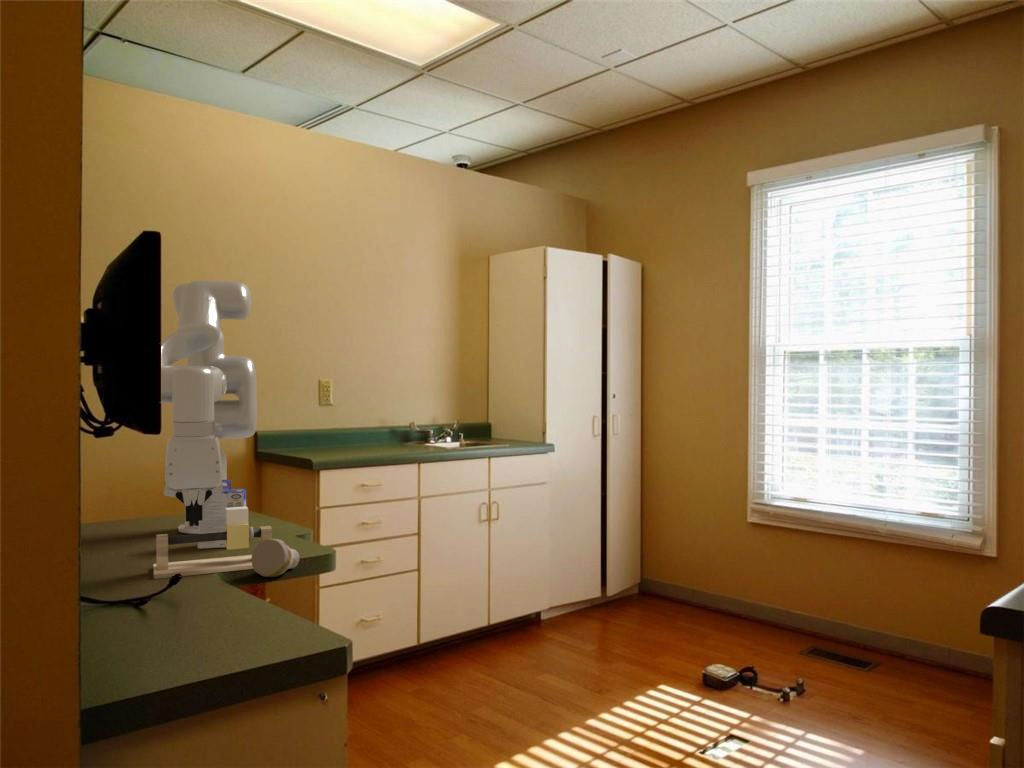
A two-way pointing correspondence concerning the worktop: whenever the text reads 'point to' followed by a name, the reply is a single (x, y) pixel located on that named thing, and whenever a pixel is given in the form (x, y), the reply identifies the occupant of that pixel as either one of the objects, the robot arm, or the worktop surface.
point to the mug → (273, 558)
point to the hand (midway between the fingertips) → (194, 524)
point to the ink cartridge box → (219, 513)
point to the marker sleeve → (237, 527)
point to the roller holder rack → (204, 565)
